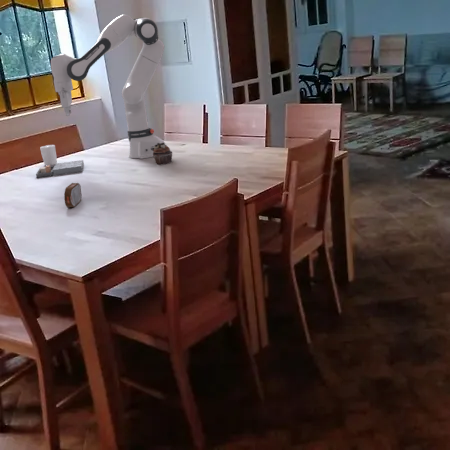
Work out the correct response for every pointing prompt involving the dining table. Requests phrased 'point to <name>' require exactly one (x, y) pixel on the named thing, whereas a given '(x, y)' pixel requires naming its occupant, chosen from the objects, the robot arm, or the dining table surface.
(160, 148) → the cupcake
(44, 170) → the tile cream
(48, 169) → the tile terracotta
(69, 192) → the tin
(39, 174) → the box
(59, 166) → the far plate
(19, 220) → the dining table surface
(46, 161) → the white cup
